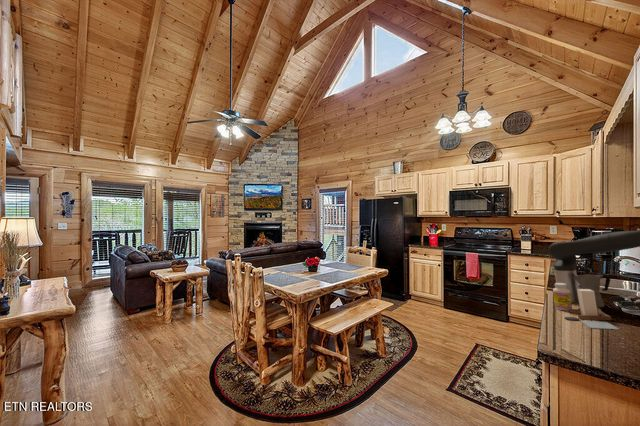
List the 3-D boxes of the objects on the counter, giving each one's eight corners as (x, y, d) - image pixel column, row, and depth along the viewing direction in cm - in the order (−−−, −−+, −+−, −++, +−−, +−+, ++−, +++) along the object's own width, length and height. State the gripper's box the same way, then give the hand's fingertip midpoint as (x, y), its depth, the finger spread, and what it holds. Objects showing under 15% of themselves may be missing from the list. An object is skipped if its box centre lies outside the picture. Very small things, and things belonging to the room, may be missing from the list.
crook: (579, 311, 135) (579, 308, 135) (574, 308, 140) (574, 305, 140) (601, 312, 132) (600, 309, 132) (595, 309, 137) (595, 306, 137)
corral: (569, 312, 135) (569, 308, 135) (598, 313, 131) (598, 309, 131) (579, 318, 125) (578, 315, 125) (611, 320, 121) (611, 316, 121)
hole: (562, 317, 129) (562, 316, 129) (576, 317, 127) (576, 317, 127) (567, 320, 124) (567, 319, 124) (581, 321, 122) (581, 320, 122)
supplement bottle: (557, 310, 139) (553, 284, 140) (553, 306, 145) (550, 282, 146) (574, 311, 136) (570, 285, 137) (570, 307, 142) (566, 282, 143)
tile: (580, 321, 122) (580, 320, 122) (607, 322, 118) (607, 321, 118) (590, 328, 114) (589, 327, 114) (619, 329, 110) (619, 328, 110)
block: (581, 314, 131) (577, 289, 132) (593, 314, 129) (589, 289, 130) (585, 317, 127) (581, 291, 128) (598, 317, 125) (594, 291, 126)
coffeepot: (581, 307, 141) (576, 272, 143) (572, 302, 150) (567, 269, 151) (620, 307, 136) (614, 271, 137) (608, 302, 145) (603, 268, 146)
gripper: (653, 290, 125) (606, 289, 131) (677, 297, 112) (623, 296, 118) (656, 307, 124) (608, 305, 131) (681, 316, 111) (626, 314, 118)
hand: (615, 301), depth 124 cm, fingers open, 8 cm apart
